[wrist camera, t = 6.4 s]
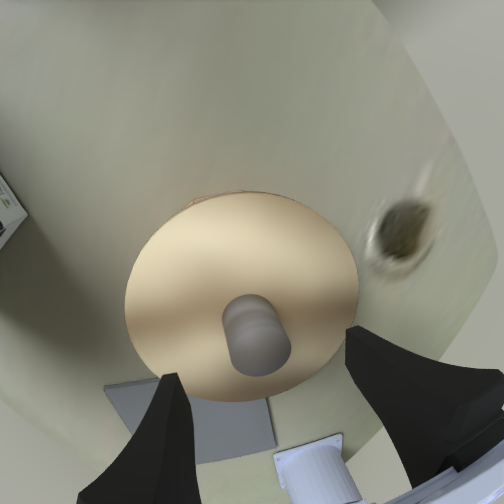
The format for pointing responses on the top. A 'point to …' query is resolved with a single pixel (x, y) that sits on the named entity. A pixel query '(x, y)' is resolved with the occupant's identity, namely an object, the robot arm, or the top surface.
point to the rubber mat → (203, 421)
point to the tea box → (9, 213)
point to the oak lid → (241, 296)
